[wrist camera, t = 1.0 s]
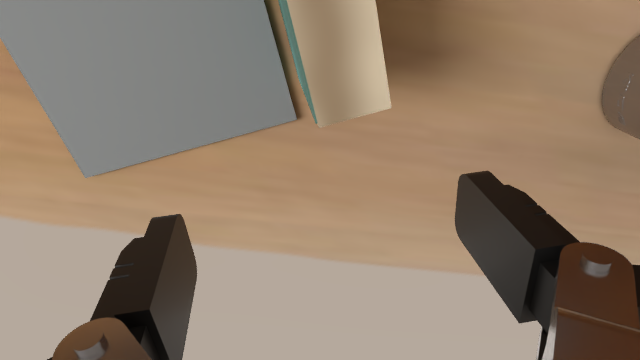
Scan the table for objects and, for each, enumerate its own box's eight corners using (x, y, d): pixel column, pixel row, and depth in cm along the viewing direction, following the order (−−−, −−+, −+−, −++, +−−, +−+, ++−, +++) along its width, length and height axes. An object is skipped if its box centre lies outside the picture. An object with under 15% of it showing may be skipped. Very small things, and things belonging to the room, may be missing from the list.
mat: (234, -104, 24) (234, -106, 24) (296, 117, 31) (296, 119, 31) (-37, -32, 24) (-42, -32, 23) (87, 174, 31) (85, 177, 30)
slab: (327, -77, 25) (362, -89, 18) (354, 66, 30) (391, 107, 22) (262, -60, 25) (268, -64, 18) (299, 81, 30) (317, 128, 22)
